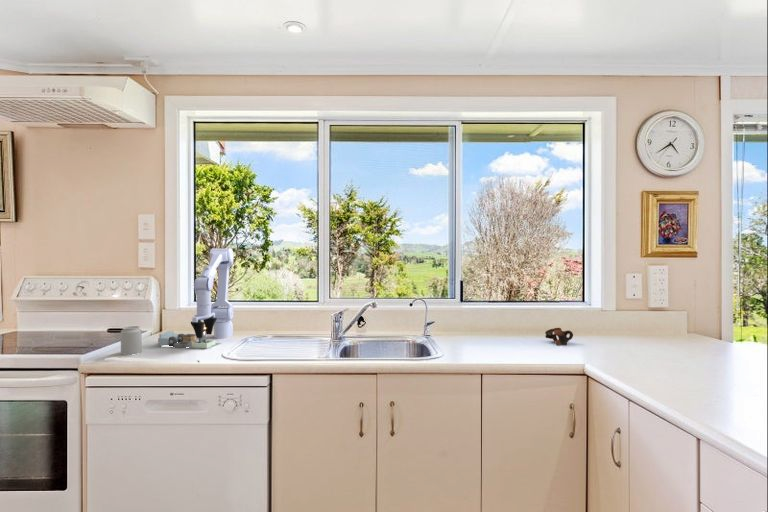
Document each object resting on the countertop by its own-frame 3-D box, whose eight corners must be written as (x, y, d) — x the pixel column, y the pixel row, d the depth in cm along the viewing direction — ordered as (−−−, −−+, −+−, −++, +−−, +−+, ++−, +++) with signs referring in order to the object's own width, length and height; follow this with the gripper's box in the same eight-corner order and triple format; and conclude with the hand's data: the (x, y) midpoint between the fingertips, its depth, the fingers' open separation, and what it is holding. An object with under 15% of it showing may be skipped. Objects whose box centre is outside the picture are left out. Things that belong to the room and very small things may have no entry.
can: (125, 359, 178) (125, 329, 178) (117, 356, 183) (117, 327, 183) (145, 355, 184) (144, 326, 184) (136, 353, 189) (136, 324, 189)
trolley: (173, 341, 205) (173, 330, 205) (188, 342, 204) (187, 330, 204) (158, 346, 195) (158, 334, 195) (173, 347, 194) (173, 335, 194)
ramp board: (173, 344, 206) (173, 338, 206) (221, 345, 202) (221, 339, 202) (155, 350, 194) (155, 343, 194) (206, 352, 190) (206, 345, 190)
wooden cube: (188, 342, 204) (187, 333, 204) (196, 342, 203) (195, 334, 203) (182, 344, 200) (182, 335, 200) (190, 344, 199) (190, 335, 199)
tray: (201, 344, 199) (201, 339, 199) (215, 345, 198) (215, 340, 198) (192, 348, 192) (192, 343, 192) (206, 348, 191) (206, 343, 191)
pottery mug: (550, 347, 200) (544, 329, 204) (548, 351, 208) (542, 335, 212) (577, 340, 199) (570, 323, 202) (574, 346, 207) (568, 329, 211)
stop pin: (200, 344, 197) (200, 326, 197) (208, 344, 196) (208, 326, 196) (195, 346, 193) (195, 328, 193) (204, 346, 192) (203, 328, 192)
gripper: (204, 302, 202) (204, 332, 202) (185, 307, 188) (185, 339, 188) (219, 303, 201) (219, 333, 201) (200, 307, 187) (201, 339, 187)
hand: (204, 336), depth 195 cm, fingers open, 7 cm apart
